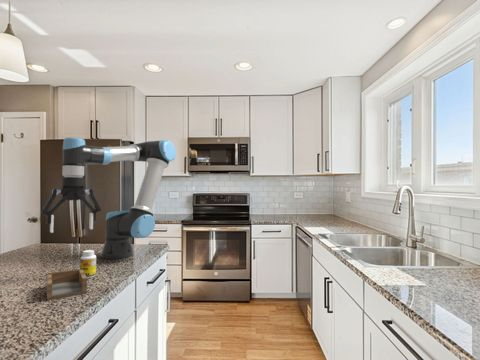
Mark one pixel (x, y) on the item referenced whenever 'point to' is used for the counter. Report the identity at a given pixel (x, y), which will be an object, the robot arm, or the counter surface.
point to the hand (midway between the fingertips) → (72, 230)
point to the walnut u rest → (66, 284)
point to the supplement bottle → (88, 263)
